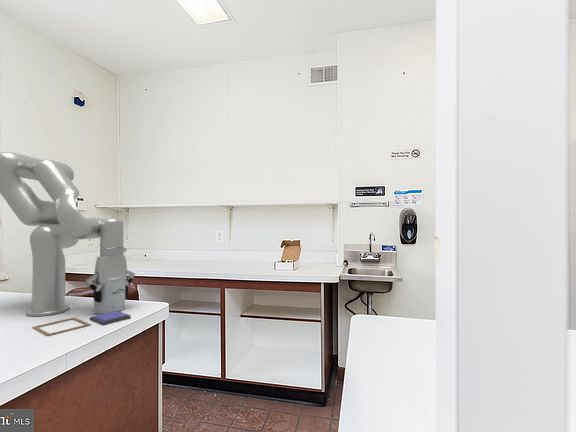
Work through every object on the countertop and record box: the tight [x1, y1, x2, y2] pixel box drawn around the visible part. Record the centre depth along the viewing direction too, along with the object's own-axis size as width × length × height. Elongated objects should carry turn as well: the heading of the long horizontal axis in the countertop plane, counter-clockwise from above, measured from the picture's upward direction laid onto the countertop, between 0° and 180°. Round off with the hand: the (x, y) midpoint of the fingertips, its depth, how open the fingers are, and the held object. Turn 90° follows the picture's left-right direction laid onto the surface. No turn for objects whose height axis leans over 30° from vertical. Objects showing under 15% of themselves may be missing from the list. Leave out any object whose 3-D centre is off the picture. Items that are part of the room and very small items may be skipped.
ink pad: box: [89, 311, 131, 326], centre depth 107 cm, size 9×9×1 cm
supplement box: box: [93, 277, 126, 315], centre depth 116 cm, size 7×7×13 cm
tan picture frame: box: [31, 316, 92, 337], centre depth 99 cm, size 12×12×1 cm
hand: (111, 299), depth 115 cm, fingers closed on supplement box, 9 cm apart
